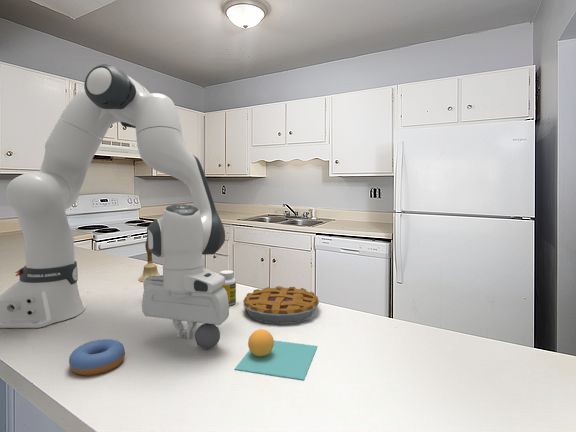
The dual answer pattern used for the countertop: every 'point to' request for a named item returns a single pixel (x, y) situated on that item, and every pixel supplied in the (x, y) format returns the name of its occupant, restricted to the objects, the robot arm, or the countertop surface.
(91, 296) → the countertop surface
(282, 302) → the pie
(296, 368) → the mark
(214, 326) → the ball
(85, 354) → the doughnut
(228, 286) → the supplement bottle
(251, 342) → the ball
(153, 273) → the hand bell
